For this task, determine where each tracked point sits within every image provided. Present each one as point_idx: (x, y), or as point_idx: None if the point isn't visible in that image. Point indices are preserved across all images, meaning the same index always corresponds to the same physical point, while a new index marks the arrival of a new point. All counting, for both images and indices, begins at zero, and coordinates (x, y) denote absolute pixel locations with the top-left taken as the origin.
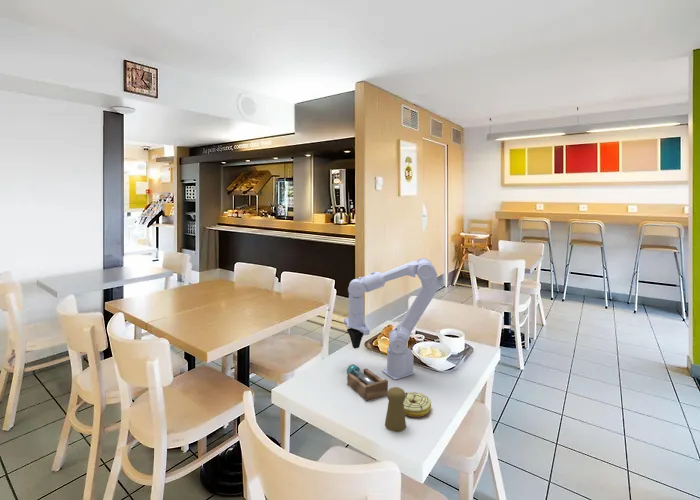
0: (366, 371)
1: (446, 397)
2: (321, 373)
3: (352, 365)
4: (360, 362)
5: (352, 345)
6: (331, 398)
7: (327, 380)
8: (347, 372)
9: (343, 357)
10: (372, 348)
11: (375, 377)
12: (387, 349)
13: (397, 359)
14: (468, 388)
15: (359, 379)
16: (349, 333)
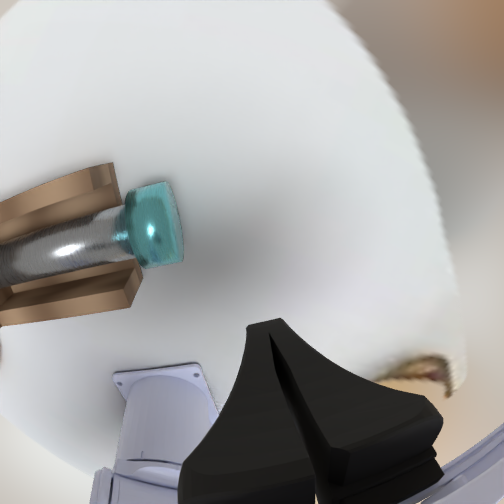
0: (98, 292)
1: (27, 419)
2: (289, 67)
3: (152, 231)
4: (324, 307)
5: (283, 326)
6: (35, 66)
7: (195, 70)
8: (155, 184)
9: (404, 247)
10: (399, 375)
11: (33, 306)
12: (166, 467)
13: (117, 449)
14: (72, 464)
15: (51, 226)
16: (352, 405)
